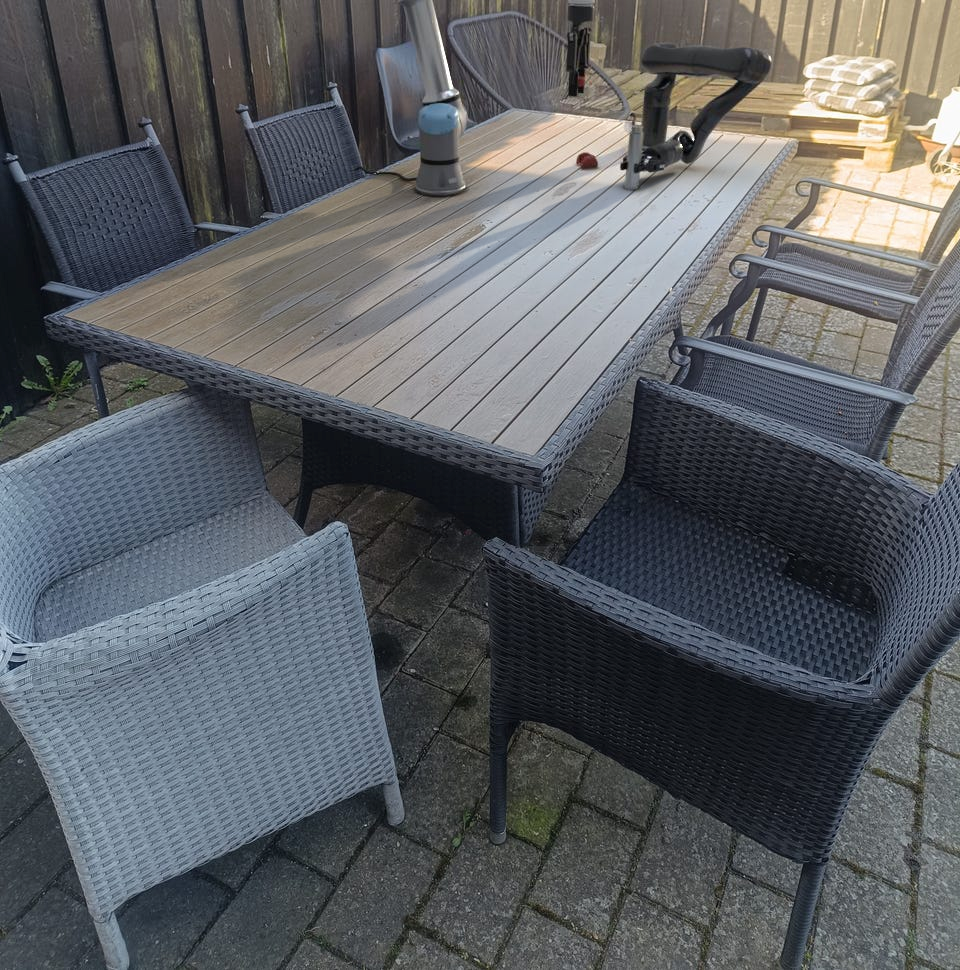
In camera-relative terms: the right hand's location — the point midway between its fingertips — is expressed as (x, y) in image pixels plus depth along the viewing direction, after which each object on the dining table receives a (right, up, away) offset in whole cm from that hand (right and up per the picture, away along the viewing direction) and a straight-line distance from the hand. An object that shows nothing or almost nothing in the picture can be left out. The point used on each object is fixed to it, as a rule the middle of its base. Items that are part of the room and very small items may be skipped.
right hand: (628, 168), depth 255 cm
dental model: (-9, +10, +25) cm, 29 cm away
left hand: (-16, +20, -5) cm, 27 cm away
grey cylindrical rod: (+2, -4, +5) cm, 7 cm away
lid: (-16, +24, -7) cm, 30 cm away
